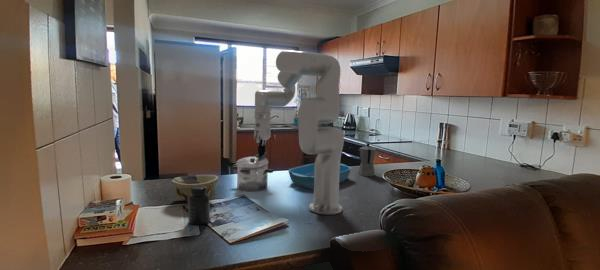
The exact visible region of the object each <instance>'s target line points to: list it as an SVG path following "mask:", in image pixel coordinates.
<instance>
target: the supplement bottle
mask: <svg viewBox="0 0 600 270" xmlns="http://www.w3.org/2000/svg"><path fill="white" fill-rule="evenodd" d="M209 195H210V194H209V193H207V194H206V186H203V185H197V186H193V187H191V195H190V196H189V197H188V202H187V207H188V208H187V209H188V215H187V217H188V223H189V224H190V225H192V226H203V225H207V224H208V223H209V222H210V219H211V215H210V214H211V211H210V210H211V209H210V208H211V207H210V200H209Z"/></svg>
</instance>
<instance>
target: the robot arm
mask: <svg viewBox="0 0 600 270" xmlns="http://www.w3.org/2000/svg"><path fill="white" fill-rule="evenodd" d="M275 66H276V69H277V70H278V71H279V73H278V74H277V82H278V83H279V84H280V85H281V87H283V89H282V90H273V89H272V90H271V89H270V90H269V89H267V90H266V89H265V90H256V91H255V94H254V120H255V121H254V128H253V130H254V131H253V139H254V140H256V141H255V143H257V154H259V153H260V154H264V153H266V145H267V141H268V140H269V139H270V138H272V137H271V135H272V134H271V133H272V132H271V107H280V108H281V107H282V108H283V107H286V106H288V104H290V102H291V101H292V100H293V99H294V97H295V95H296V84H297V83H298V82H299V81H300V79H301V78H302V77H303V76H309V77H311V76H312V77H313V76H314V77H319V78H318V81H317V84H316V86H315V87H316V88H315V93H316V95H315V97H307V98H304V99H303V100H302V101H301V103H300V105H299V107H298V115H297V116H298V118H297V120H298V121H297V122H298V123H297V124H298V143H299V148H300V150H301V152H302V153H304V154H306V155H317V156H316V158H315V161H314V163H315V170H314V189H313V199H312V200H313V202H311V203H309V206H308V208H309V210H310V211H311V212H312V213H316V214H319V215H323V216H324V215H328V216H331V215H337V214H340V213H342V211H343V206H342V205H341V204H340V203H339V194H340V183H339V175H340V164H341V160H342V159H341V157H342V153H343V148H344V144H345V140H344V139H345V137H344V134H343V132H342V131H341V130H340V129H339V128H338V127H333V126H323V127H321V126H320V127H319V125H322V124H325V125H326V124H332V123H335V122H337V121H338V119H339V117H340V79H341V65H340V61H338V59H337V58H335V57H334V56H332V55H329V54H324V53H317V52H311V51H310V52H309V51H299V50H287V49H285V50H284V49H283V50H281V51H280V52H279V53H278V54H277V56H276V58H275Z"/></svg>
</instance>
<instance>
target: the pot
mask: <svg viewBox="0 0 600 270" xmlns="http://www.w3.org/2000/svg"><path fill="white" fill-rule="evenodd" d="M268 167H269V166H268V164H267V165H266V166H264V167H260V168H253V169H247V168H241V167H238V166H237V165H233V166H232V170H236V171H237V173H236V175H237V177H236V179H237V180H236V184H237V185H236V187H237V189H238V190H240V191H243V192H259V191H264V190H266V189H268V179H269V178H268V177H269V176H268V174H272V173H274V169H273V168H268Z"/></svg>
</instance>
